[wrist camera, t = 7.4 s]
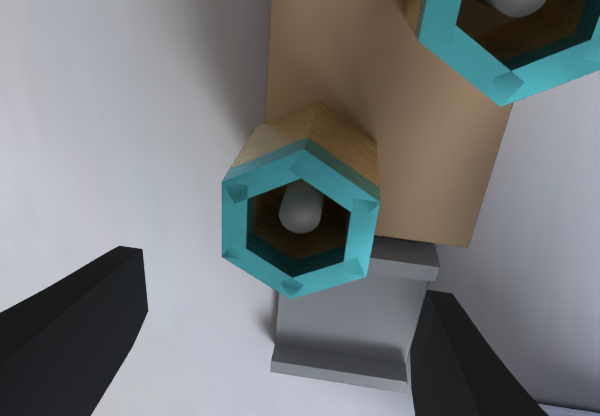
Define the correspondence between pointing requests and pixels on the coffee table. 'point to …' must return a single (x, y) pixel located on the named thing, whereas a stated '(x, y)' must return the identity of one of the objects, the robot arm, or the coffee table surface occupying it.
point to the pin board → (392, 109)
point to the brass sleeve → (320, 174)
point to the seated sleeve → (513, 46)
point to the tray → (358, 321)
